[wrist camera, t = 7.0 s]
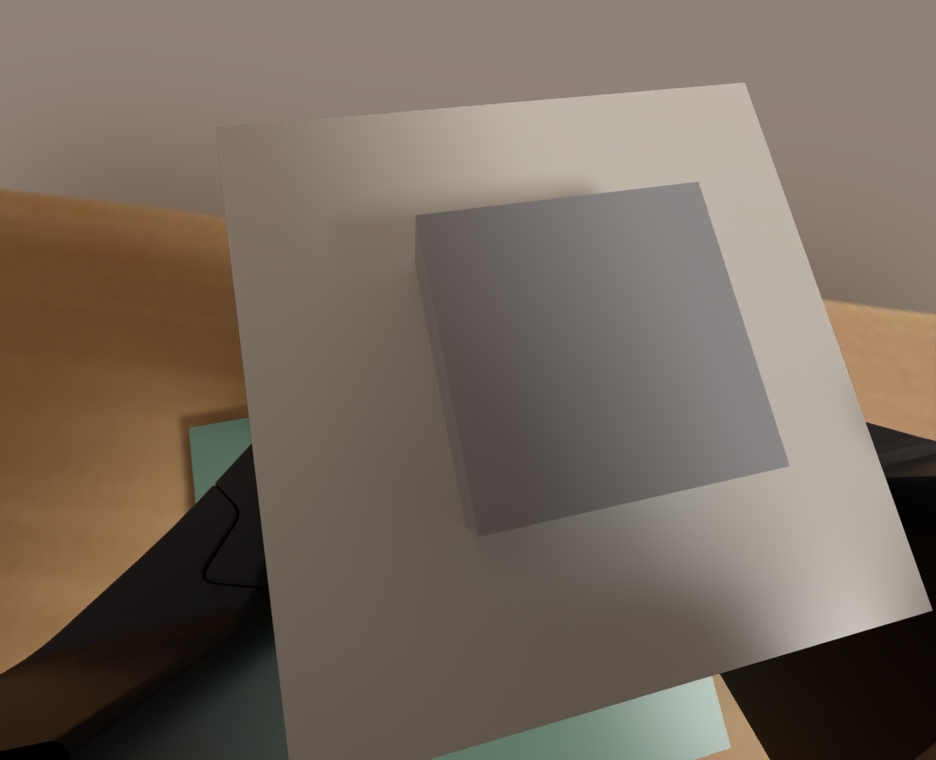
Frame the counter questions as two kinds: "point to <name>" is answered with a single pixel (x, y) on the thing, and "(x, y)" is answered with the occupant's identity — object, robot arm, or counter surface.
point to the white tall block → (541, 416)
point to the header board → (564, 742)
